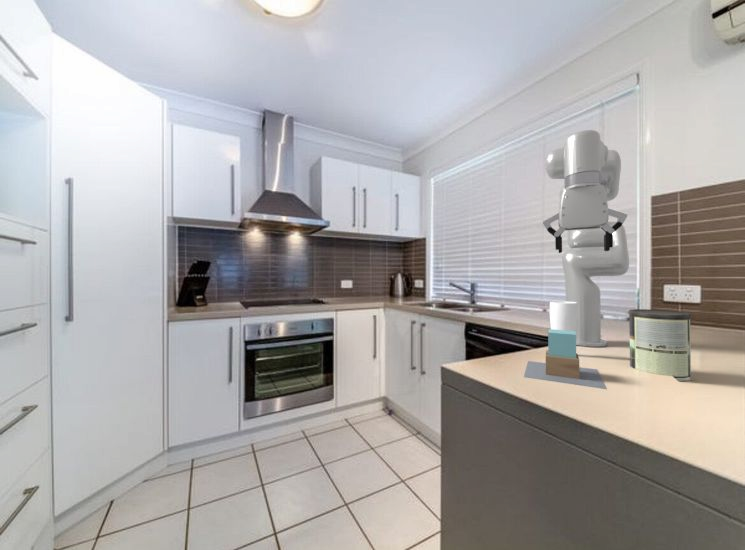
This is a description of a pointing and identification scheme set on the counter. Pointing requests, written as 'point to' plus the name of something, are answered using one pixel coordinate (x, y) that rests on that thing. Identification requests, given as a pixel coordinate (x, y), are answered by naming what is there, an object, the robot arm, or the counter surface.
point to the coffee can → (660, 342)
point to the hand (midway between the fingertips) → (582, 251)
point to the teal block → (562, 343)
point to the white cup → (564, 315)
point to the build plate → (585, 374)
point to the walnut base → (562, 366)
